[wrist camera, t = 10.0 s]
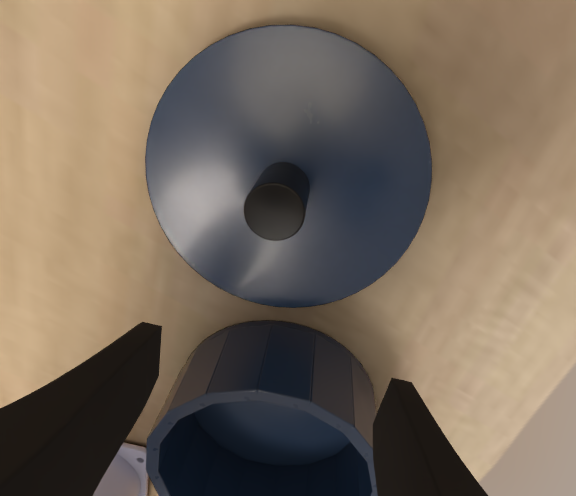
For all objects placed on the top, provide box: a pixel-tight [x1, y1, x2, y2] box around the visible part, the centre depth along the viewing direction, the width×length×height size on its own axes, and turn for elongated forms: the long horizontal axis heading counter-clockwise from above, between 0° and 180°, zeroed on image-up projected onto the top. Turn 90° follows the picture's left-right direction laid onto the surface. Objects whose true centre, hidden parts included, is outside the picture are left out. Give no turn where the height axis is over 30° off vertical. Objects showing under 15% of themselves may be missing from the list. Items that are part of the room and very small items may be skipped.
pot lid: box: [145, 25, 432, 308], centre depth 17 cm, size 13×13×4 cm
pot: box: [146, 320, 378, 496], centre depth 23 cm, size 12×12×6 cm
